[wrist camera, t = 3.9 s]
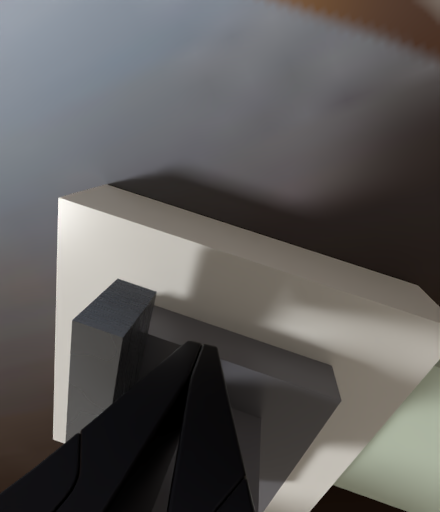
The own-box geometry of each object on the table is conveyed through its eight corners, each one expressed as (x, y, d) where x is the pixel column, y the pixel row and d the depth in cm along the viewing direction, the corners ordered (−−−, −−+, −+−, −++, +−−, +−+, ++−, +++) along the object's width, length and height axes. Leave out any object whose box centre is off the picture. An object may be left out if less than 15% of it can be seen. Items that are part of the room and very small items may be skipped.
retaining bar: (131, 474, 15) (92, 570, 11) (100, 462, 15) (52, 554, 11) (183, 270, 9) (135, 342, 6) (133, 253, 9) (59, 315, 6)
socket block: (291, 467, 17) (295, 528, 15) (85, 393, 18) (53, 439, 15) (417, 285, 11) (463, 331, 9) (106, 184, 12) (58, 197, 9)
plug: (261, 427, 16) (253, 712, 8) (132, 382, 16) (2, 612, 8) (320, 321, 13) (405, 633, 5) (155, 267, 13) (-26, 470, 5)
